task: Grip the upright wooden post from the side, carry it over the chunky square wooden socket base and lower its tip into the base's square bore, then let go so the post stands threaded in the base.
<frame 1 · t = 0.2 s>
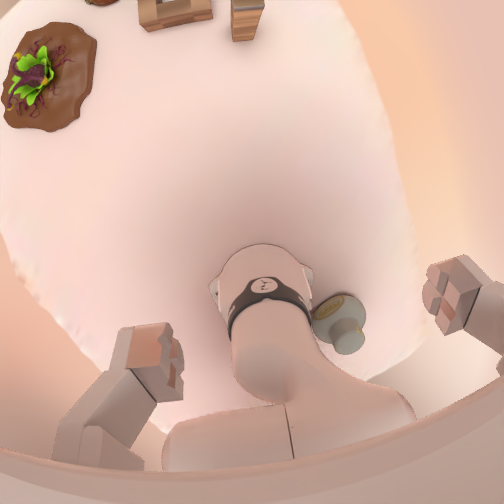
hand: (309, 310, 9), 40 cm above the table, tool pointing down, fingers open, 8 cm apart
air freshener: (334, 310, 59), on the table
upright wooden post: (241, 32, 36), on the table
plant: (49, 75, 36), on the table
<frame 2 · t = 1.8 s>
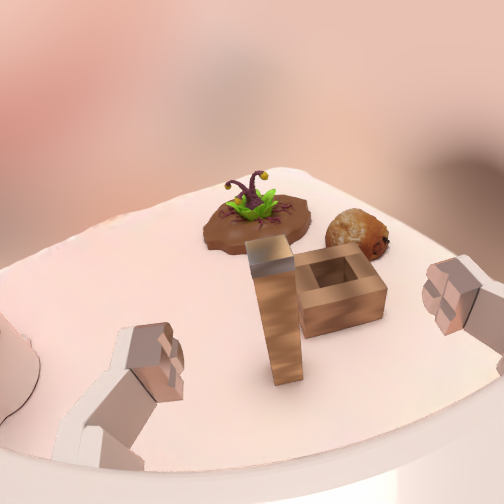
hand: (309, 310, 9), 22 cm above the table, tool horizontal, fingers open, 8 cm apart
bread roll: (357, 247, 48), on the table
square wooden socket base: (332, 301, 39), on the table
upright wooden post: (286, 371, 31), on the table
plant: (259, 227, 59), on the table
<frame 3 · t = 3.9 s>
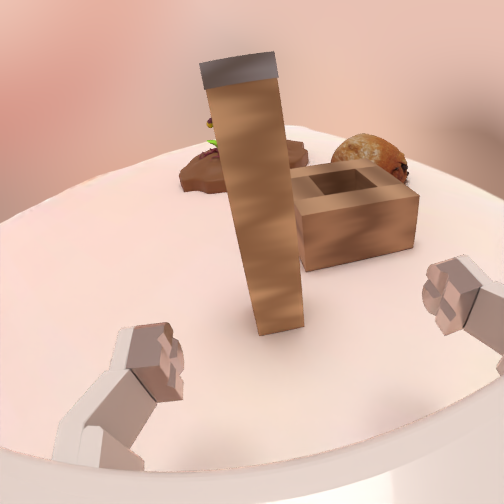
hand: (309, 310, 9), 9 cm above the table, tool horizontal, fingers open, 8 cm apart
bread roll: (370, 181, 37), on the table
square wooden socket base: (342, 229, 28), on the table
upright wooden post: (277, 315, 21), on the table
plant: (247, 170, 48), on the table
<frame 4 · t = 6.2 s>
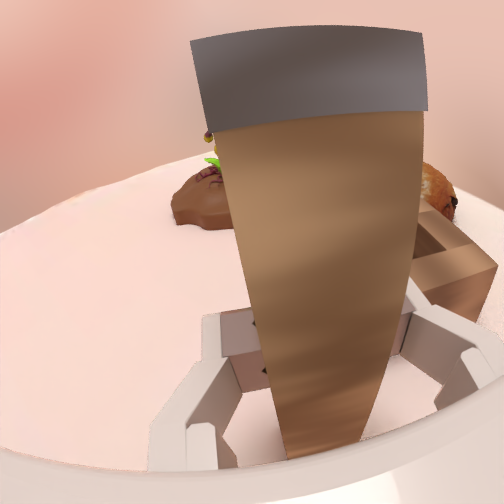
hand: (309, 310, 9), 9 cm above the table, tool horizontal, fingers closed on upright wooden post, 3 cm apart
bread roll: (410, 215, 30), on the table
square wooden socket base: (389, 295, 20), on the table
upright wooden post: (315, 441, 13), on the table, touching gripper
plant: (253, 195, 40), on the table
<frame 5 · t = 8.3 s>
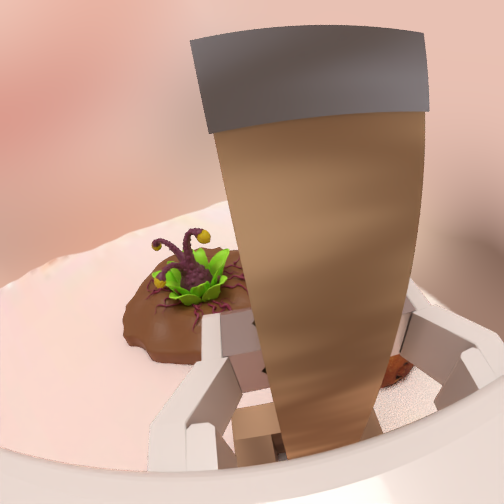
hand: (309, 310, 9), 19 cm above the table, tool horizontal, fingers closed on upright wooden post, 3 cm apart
bread roll: (369, 352, 28), on the table
square wooden socket base: (311, 472, 19), on the table
upright wooden post: (315, 442, 13), point 10 cm above the table, touching gripper
plant: (206, 306, 38), on the table
when the fingers open (10 cm above the table, at t = 10.6 s): upright wooden post drops 1 cm, resting in square wooden socket base.
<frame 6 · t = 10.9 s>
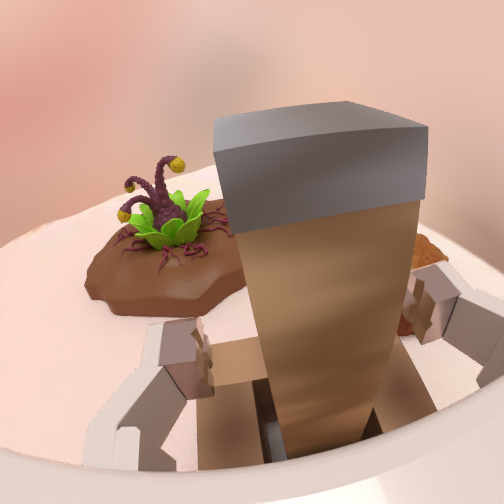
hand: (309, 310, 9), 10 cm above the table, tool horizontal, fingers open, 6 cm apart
bread roll: (387, 296, 23), on the table
square wooden socket base: (314, 449, 14), on the table
upright wooden post: (315, 450, 14), resting in square wooden socket base
plant: (183, 257, 33), on the table
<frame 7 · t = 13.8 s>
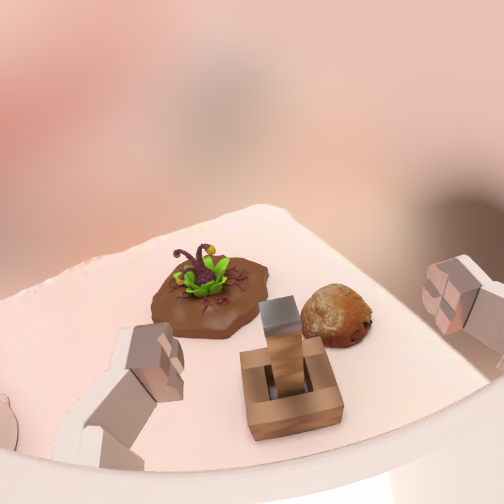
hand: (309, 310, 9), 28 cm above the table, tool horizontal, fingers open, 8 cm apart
bread roll: (336, 325, 43), on the table
square wooden socket base: (290, 398, 34), on the table
upright wooden post: (290, 398, 34), resting in square wooden socket base
plant: (212, 298, 53), on the table
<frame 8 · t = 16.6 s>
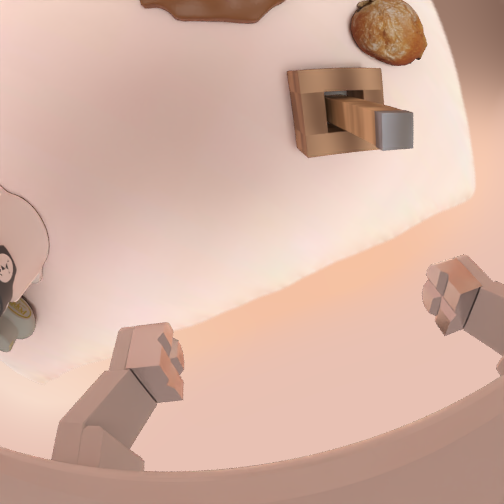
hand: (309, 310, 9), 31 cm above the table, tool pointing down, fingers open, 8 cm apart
bread roll: (383, 32, 29), on the table
air freshener: (18, 304, 46), on the table
square wooden socket base: (330, 105, 34), on the table
upright wooden post: (330, 106, 34), resting in square wooden socket base
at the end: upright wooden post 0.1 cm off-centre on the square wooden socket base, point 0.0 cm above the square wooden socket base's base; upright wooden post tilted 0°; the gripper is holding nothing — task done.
